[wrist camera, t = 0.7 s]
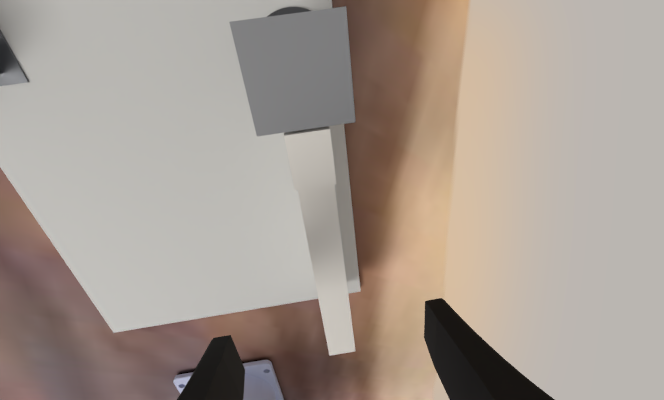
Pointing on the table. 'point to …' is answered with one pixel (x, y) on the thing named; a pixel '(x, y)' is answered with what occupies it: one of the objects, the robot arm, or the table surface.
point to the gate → (306, 131)
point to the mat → (157, 159)
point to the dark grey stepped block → (9, 65)
